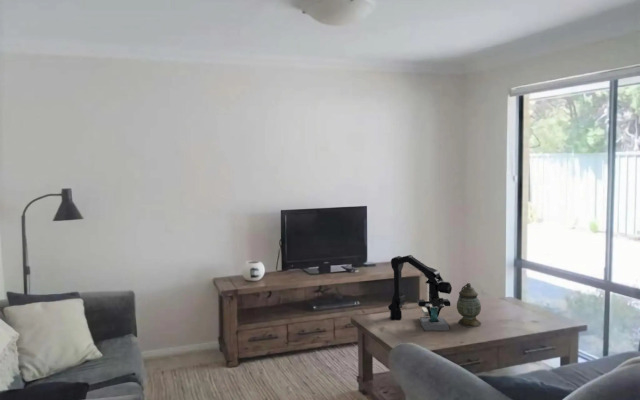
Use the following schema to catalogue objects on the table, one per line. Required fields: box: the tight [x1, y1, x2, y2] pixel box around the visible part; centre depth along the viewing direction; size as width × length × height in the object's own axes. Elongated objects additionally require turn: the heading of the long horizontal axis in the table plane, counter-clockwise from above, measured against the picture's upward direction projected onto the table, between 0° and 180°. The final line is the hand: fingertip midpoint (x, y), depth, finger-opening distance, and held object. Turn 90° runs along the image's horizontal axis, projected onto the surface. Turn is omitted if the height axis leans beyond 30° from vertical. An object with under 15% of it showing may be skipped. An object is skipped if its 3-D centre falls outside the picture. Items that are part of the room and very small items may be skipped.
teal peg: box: [429, 306, 437, 322], centre depth 297 cm, size 4×4×8 cm
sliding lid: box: [420, 306, 440, 317], centre depth 308 cm, size 9×9×3 cm
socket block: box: [419, 316, 449, 331], centre depth 297 cm, size 14×14×4 cm
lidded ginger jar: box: [456, 282, 482, 328], centre depth 300 cm, size 14×14×25 cm
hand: (433, 316), depth 297 cm, fingers closed on teal peg, 4 cm apart
